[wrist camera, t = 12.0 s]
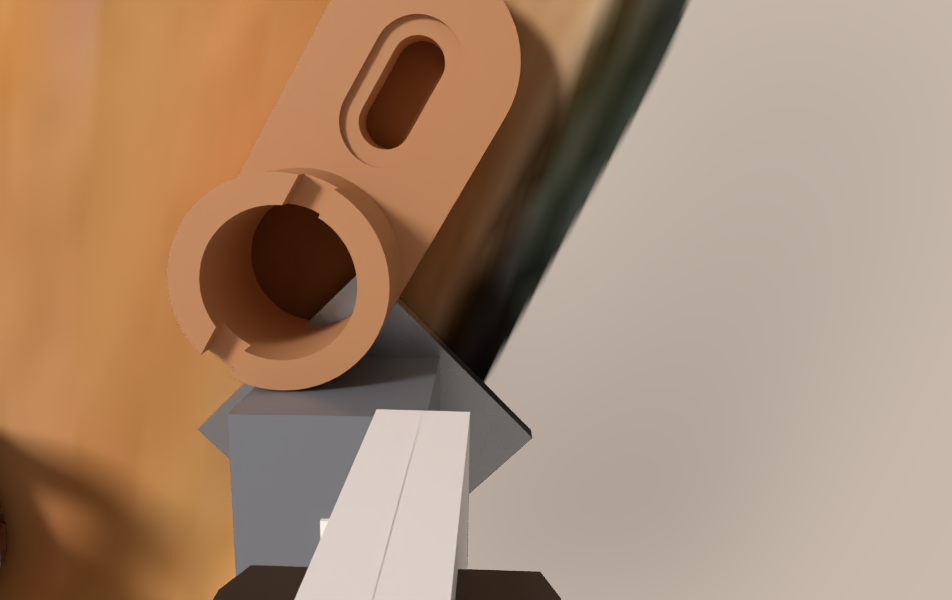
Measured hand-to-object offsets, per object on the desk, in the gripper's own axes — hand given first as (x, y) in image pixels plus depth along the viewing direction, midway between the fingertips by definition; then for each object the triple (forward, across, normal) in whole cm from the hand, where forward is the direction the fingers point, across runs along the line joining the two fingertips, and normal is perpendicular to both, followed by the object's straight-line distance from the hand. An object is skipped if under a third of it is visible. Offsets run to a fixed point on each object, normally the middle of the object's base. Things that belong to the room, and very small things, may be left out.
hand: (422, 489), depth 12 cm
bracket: (+24, -5, +4) cm, 24 cm away
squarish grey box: (+22, -5, -8) cm, 24 cm away
